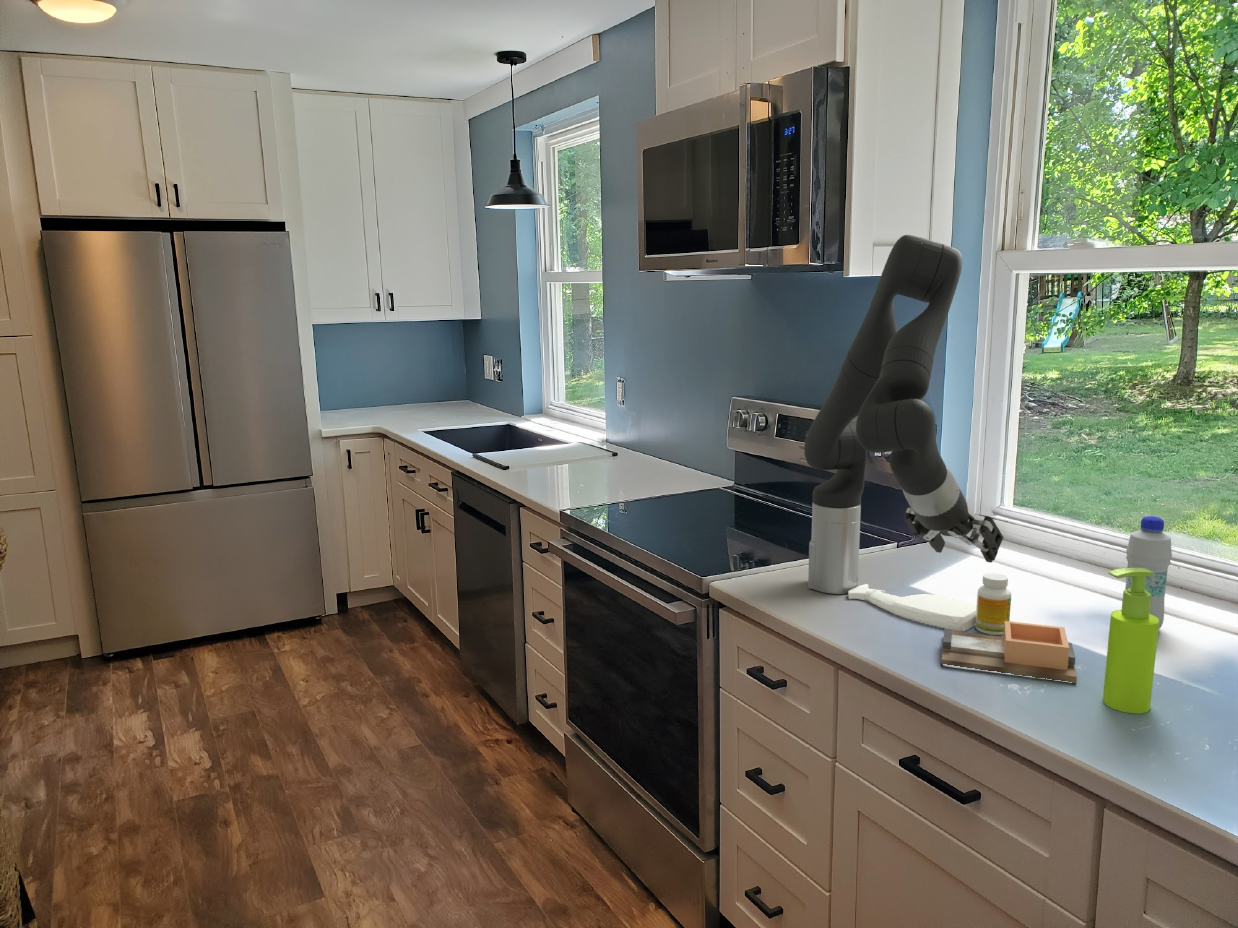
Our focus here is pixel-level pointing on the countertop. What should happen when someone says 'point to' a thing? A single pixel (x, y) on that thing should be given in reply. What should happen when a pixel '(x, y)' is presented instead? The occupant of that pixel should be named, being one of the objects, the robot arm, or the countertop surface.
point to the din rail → (983, 646)
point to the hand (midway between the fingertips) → (965, 552)
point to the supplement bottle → (993, 604)
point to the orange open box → (1035, 645)
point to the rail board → (1003, 663)
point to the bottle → (1151, 560)
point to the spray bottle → (922, 607)
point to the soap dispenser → (1131, 647)
